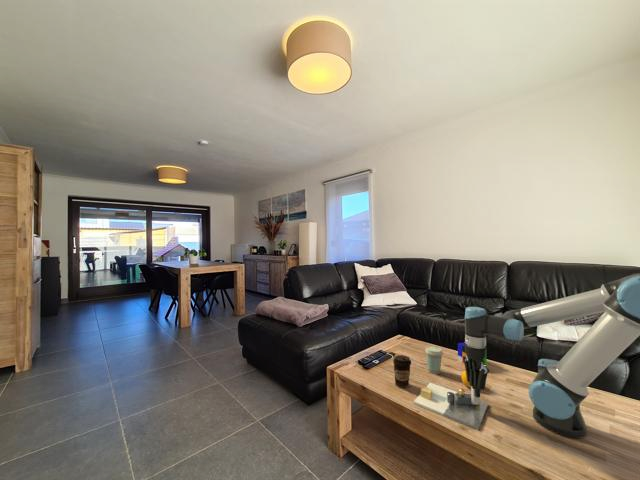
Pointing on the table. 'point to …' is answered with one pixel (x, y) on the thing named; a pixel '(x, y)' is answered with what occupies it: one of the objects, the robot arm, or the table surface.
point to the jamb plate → (467, 413)
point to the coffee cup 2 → (434, 359)
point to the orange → (465, 379)
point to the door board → (434, 398)
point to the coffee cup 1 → (402, 370)
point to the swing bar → (463, 398)
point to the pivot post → (450, 397)
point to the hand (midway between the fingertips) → (475, 403)
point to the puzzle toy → (462, 353)
